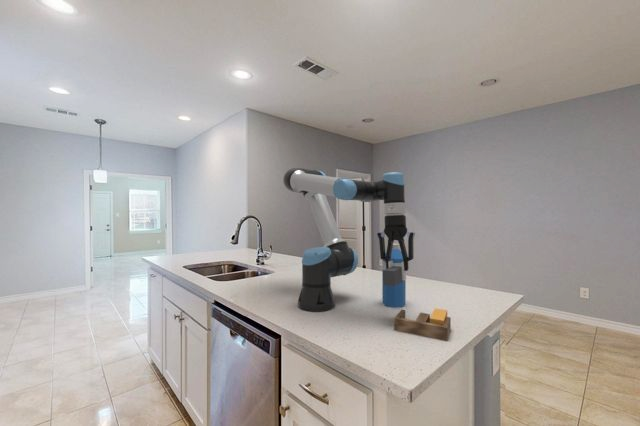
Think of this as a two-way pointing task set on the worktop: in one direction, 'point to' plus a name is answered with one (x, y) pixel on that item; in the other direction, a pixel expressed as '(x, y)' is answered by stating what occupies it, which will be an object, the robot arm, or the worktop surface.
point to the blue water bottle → (396, 294)
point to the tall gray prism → (392, 276)
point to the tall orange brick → (438, 316)
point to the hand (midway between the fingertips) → (397, 279)
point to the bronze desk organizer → (422, 326)
